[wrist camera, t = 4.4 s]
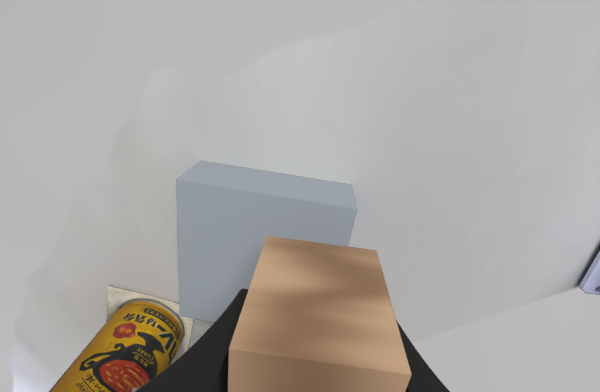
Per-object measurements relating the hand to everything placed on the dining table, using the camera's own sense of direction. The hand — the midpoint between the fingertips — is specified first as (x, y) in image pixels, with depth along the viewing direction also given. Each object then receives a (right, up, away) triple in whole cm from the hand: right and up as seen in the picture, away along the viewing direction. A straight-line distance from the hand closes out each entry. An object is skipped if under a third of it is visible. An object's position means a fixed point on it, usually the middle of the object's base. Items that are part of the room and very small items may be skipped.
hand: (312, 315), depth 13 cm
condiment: (-14, -7, +14) cm, 20 cm away
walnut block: (0, +1, +2) cm, 2 cm away
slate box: (-3, +2, +9) cm, 10 cm away
